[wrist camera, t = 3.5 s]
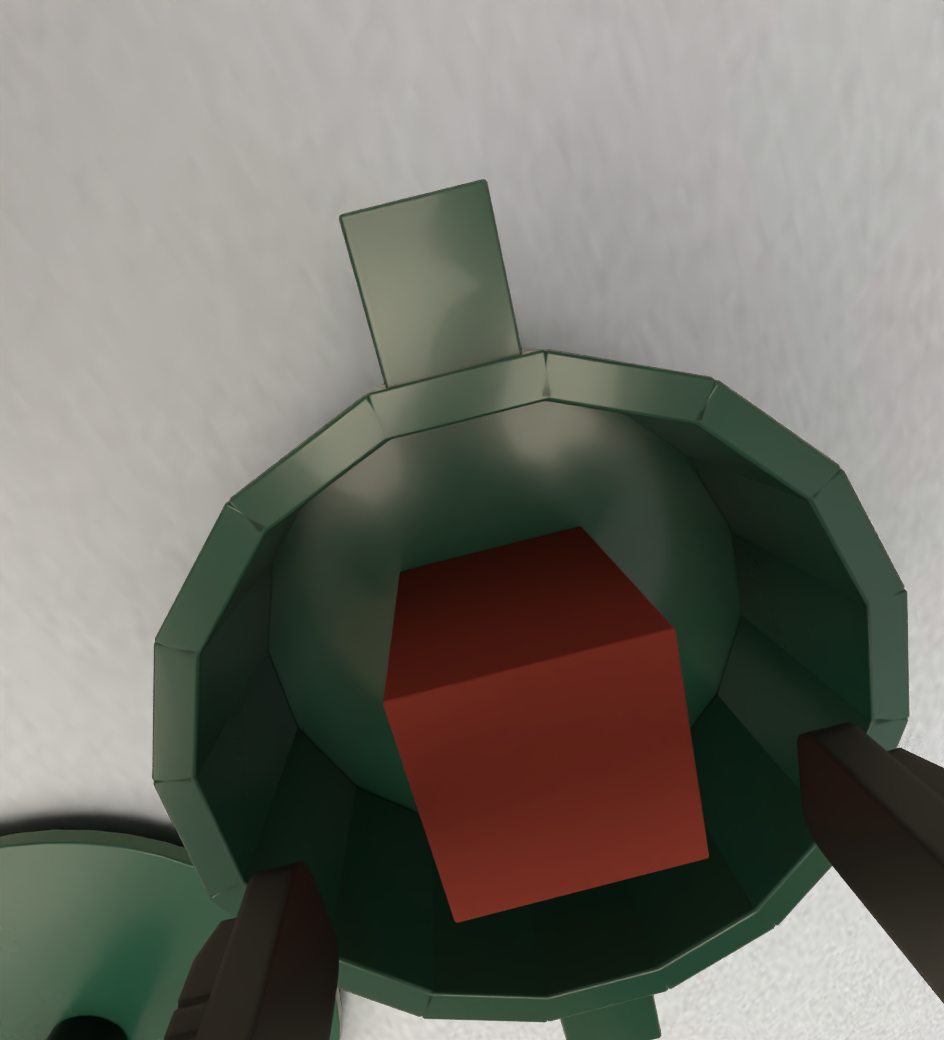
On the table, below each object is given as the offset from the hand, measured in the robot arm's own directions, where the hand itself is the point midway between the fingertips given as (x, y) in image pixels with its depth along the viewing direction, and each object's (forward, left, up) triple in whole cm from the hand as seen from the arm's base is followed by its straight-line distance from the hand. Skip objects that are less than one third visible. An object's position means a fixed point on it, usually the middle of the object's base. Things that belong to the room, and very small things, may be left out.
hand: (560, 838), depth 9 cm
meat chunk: (0, 0, -7) cm, 7 cm away
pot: (0, 0, -8) cm, 8 cm away
